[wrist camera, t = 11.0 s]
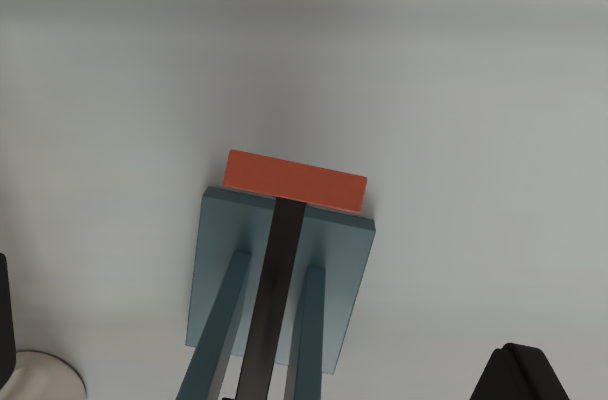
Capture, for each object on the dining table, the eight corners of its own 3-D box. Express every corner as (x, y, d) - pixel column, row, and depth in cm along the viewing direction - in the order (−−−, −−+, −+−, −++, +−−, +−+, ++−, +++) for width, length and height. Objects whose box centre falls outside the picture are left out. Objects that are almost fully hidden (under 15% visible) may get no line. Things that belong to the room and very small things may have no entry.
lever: (236, 155, 19) (228, 146, 16) (360, 181, 19) (370, 175, 16) (171, 461, 18) (153, 499, 16) (299, 485, 18) (300, 527, 16)
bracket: (207, 186, 25) (93, 362, 13) (374, 220, 25) (407, 423, 13) (190, 332, 29) (92, 564, 17) (333, 360, 29) (331, 608, 18)
